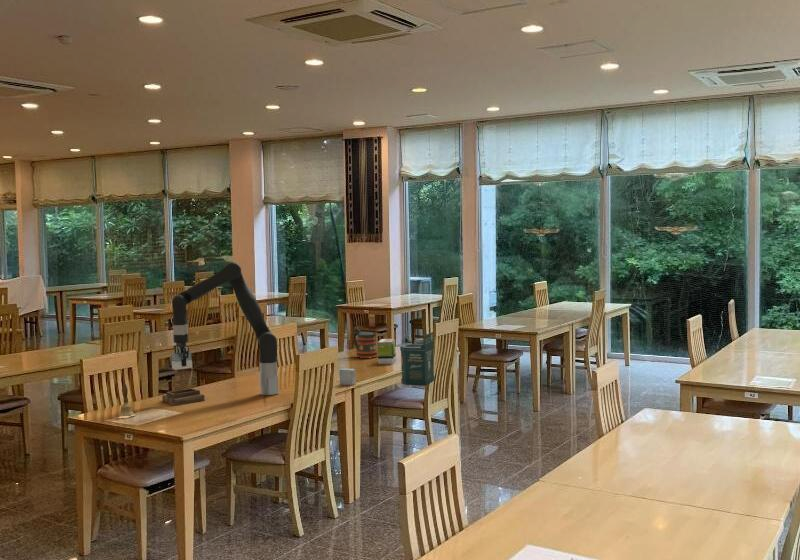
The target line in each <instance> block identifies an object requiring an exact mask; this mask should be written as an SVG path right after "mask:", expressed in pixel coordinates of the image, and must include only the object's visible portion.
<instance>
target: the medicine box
mask: <svg viewBox="0 0 800 560" xmlns="http://www.w3.org/2000/svg"><path fill="white" fill-rule="evenodd" d="M339 384H340V386H354V385H356V369H355V368H340V369H339Z"/></svg>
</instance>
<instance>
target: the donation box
mask: <svg viewBox="0 0 800 560" xmlns="http://www.w3.org/2000/svg"><path fill="white" fill-rule="evenodd" d="M423 338H424V341H423V342H424V343H409V344H403V345H401V346H399V347H400V348H399V349H400V359H401V360H400V363H401V367H400V368H401V379H400V383H401V384H403V385H405V386H421V387H423V386H424V387H425V386H426V387H427V386H428V385H430V384H431V383H433V382H435V379H436V378H435V371H434V370H435V369H434V365H435V363H434V348H435V344H434V342H435V341H434V332H433V331H432V332H430V333H427V334H425V335H424V336H423Z"/></svg>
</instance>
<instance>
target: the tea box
mask: <svg viewBox="0 0 800 560" xmlns="http://www.w3.org/2000/svg"><path fill="white" fill-rule="evenodd" d="M376 349H377V363H378V365H393V364H394V363H395V362H396V360H397V352H396V339H395V338H380V339H379V340H378V341H376Z"/></svg>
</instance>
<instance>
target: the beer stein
mask: <svg viewBox="0 0 800 560" xmlns="http://www.w3.org/2000/svg"><path fill="white" fill-rule="evenodd" d="M352 334H353V337H352V339H353V343H354V345H355V349H356V358H357V357H360V358H359V359H362V358H369V357H376V356H377V357H378V348H377V340H376V333H374V332H372V331H371V332H370V331H361V330H360V329H359V328H358V327H354V331H352ZM356 337H357V339H356ZM377 357H376V358H377ZM369 359H370V358H369Z"/></svg>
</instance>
